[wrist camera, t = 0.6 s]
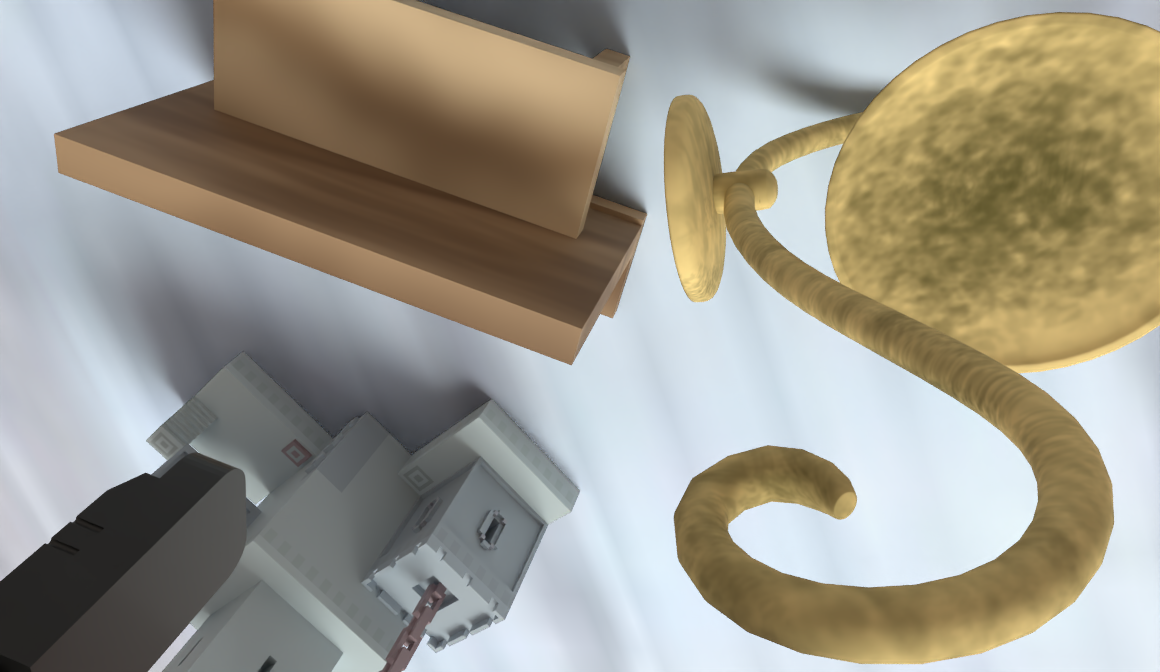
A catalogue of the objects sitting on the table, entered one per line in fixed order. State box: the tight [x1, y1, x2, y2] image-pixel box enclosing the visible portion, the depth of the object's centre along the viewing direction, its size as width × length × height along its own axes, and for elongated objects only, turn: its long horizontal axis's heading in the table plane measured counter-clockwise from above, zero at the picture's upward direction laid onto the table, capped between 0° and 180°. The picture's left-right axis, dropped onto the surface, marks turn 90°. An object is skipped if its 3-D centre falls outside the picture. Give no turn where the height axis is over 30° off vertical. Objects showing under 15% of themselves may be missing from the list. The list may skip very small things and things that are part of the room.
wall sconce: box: [664, 12, 1160, 664], centre depth 20 cm, size 14×10×25 cm
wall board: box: [54, 0, 647, 365], centre depth 31 cm, size 11×20×10 cm, turn 75°
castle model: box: [146, 351, 580, 672], centre depth 36 cm, size 17×17×25 cm
